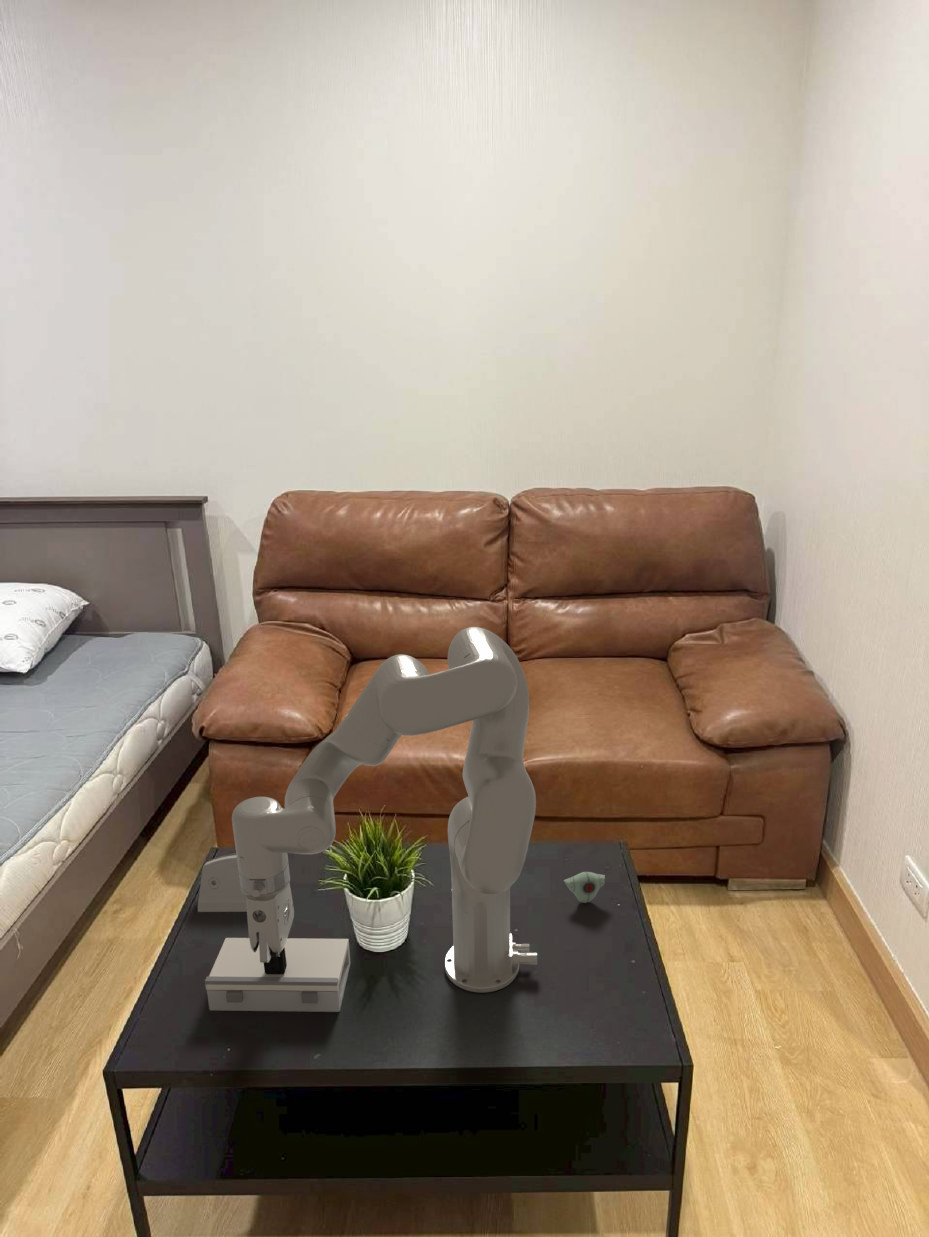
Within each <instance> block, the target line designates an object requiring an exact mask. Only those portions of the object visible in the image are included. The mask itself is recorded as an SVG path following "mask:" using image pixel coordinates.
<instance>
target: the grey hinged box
mask: <svg viewBox="0 0 929 1237" xmlns="http://www.w3.org/2000/svg"><path fill="white" fill-rule="evenodd" d="M350 953H351V952H350V945H349V946H348V950H347V954H346V958H345V962H344V967H343V971H342V975H341V979H340V983H339V988H338V991H284V990H206V995H207V1001H208V1009H209V1011H229V1012H230V1011H234V1012H236V1011H237V1012H242V1011H243V1012H248V1011H250V1012H306V1013H307V1012H320V1013H321V1012H322V1013H323V1012H324V1013H339V1012H341V1007H342V1003H343V998H344V994H345V990H346V985H347V981H348V976H349V971H350V967H351V954H350Z"/></svg>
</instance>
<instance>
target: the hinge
mask: <svg viewBox="0 0 929 1237" xmlns="http://www.w3.org/2000/svg"><path fill="white" fill-rule="evenodd" d="M198 894H199V896H198V899H197V913H214V912H215V913H223V912H224V913H225V912H226V913H231V912H233V913H238V912H239V913H240V912H241V913H242V912H243V913H245V912H246V913H247V897H246V895H245V894H244V893H243V892H242V890H241V886H240V878H239V870H238V863H237V855H236V852H235V853H229V854H225V855H221V856H217V857H214V858H212V859H209V860H208V861H207V862H205V863H204V865H203V867H202V870H201V877H200V885H199V893H198Z"/></svg>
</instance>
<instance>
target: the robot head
mask: <svg viewBox="0 0 929 1237" xmlns="http://www.w3.org/2000/svg"><path fill="white" fill-rule="evenodd" d="M605 876H606V875H605V874H600V873H595V872H592V871H582V872H579V873H577V874H576V875H572V876H571V877H568V878H566V879H563V882H564V884H565V885H566V886H567V888H568V889H569V891H570V892H571V893H573V894H574V896H575V898H576V899H577V900H578V901H579V902H580V903H584V904H587V903H590V902H593V901H592V900H594V898H595V897H596V896H597V894H598V892H599V890H600V888H602V887H603V886H604V885H605V884H606V877H605Z"/></svg>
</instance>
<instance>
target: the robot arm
mask: <svg viewBox="0 0 929 1237" xmlns="http://www.w3.org/2000/svg"><path fill="white" fill-rule="evenodd" d="M447 650H448V651H447V665H448V666H447V667H448V668H447V669H446V670H442V671H438V672H435V673H431V674H430V672H429V670H427V667H426V666H425V665H424V664H423V662H421V661H420V660H419V659H417V658H415V657H413V656H410V655H408V654H401V653H400V654H395V655H393V656H390V657H388V658H387V659H385V660H384V661H382V663H381V664H380V665H379V666H378V667H377V669H376V670H375V672H374V673H373V675H372V676H371V678H370V679H369V681H368V682H367V684H366V685H365V687H364V688H363V690H362V691H361V693H359V695H358V697H357V698H356V700H355V701H354V703H353V704H352V706H351V707H350V709H349V711H348V712H347V713H346V715H345V716H344V718H343V720H342V721H341V722H340V724H339V725H338V726H337V728H336V729H335V730H334V732H332V733H330V734H329V735H327V736H326V738H324V739H323V740H322V741H320V742H319V743H318V744H317V745H316V746H315V747H314V748H313V749H312V750H311V751H310V753H309V754H308V756H307V757H306V758H305V760H304V761H303V763H302V764H301V765H300V767H299V769H298V771H297V772H296V773H295V775H294V776H293V778H292V780H291V781H290V783H289V785H288V787H287V789H286V793H285V795H284V807H282V806H281V804H280V803H279V801H277V800H276V799H274V798H272V797H268V796H255V797H251V798H246V799H245V800H243V801H241V802H240V803H238V804H237V805H236V806H235V808H234V809H233V812H232V815H231V825H232V832H233V838H234V839H233V840H234V846H235V853H236V855H237V863H238V870H239V878H240V886H241V890H242V892H243V893H244V894H245V895H246V897H247V912H246V915H247V916H246V919H247V928H248V931H247V932H248V938H249V940H250V945H251V949H252V951H253V952H256V951H257V948H258V946H259V951H260V963H264V970H265V974H284V973H285V969H286V967H287V963H286V955H285V947H284V946H285V943H286V941H287V938H288V937H289V934H290V931H291V927H292V925H293V922H294V918H295V909H294V907H295V906H294V901H293V895H292V890H291V884H290V882H291V874H290V866H289V855H288V854H296V855H297V854H298V855H317V854H320V853H322V852H324V851H326V850H328V849H329V848H330V847H331V846H332V844H333V843H334V841H335V838H336V833H337V832H336V826H337V825H336V817H335V808H334V799H335V796H337V794H338V792H339V791H340V790H341V787H342V786H343V785H344V783H345V782H346V780H347V779H348V778H349V777H350V775H351V774H352V773H353V772H354V771H355V770H356V769H357V768H358V767H359V766H362V765H364V766H370V767H371V766H372V767H376V766H379V765H380V764H383V762H385V760H386V759H387V757H388V756H389V754H390V753H391V752H392V750H393V749H394V747H395V745H396V744H397V742H398V741H399V740H400V738H401V737H402V736H405V737H406V736H409V737H410V736H411V737H413V736H421V735H425V734H430V733H433V732H437V731H440V730H444V729H447V728H450V727H454V726H458V725H461V724H464V723H468V722H470V721H471V726H470V732H469V736H468V737H469V738H468V743H467V747H466V753H465V758H464V762H463V768H462V780H463V783H464V787H465V790H466V793H467V795H468V796H466V797H464V798H463V799H461V800H460V801H459V802H457V803H456V804H455V805H454V807H453V809H452V810H451V813H450V814H449V818H448V822H447V840H448V842H447V843H448V850H449V860H450V873H451V906H452V907H451V909H452V910H451V911H452V912H451V913H452V914H451V915H452V939H453V941H452V942H453V945H452V946H451V948H450V949H448V951H447V952H446V955H445V958H444V969H445V970H444V971H445V974H446V976H447V978H448V979H449V980H450V982H452V983H453V984H454V985H455V986H457V987H459V988H460V989H462V990H465V991H467V992H473V993H480V994H481V993H492V992H496V991H498V990H501V989H504V988H506V987H508V986H509V985H510V984H511V983H513V981H514V980H515V979H516V977H517V976H518V974H519V971H520V965H522V964H523V965H525V964H526V965H538V952H534V951H530V950H531V949H530V943H521V944H520V943H516V942H513V935H512V933H511V887H512V886H513V885H514V883H515V882H516V881H517V880H518V879H519V877H520V875H521V874H522V870H523V869H524V865H525V862H526V858H527V854H528V849H529V844H530V840H531V836H532V830H533V825H534V821H535V816H536V810H537V809H536V808H537V806H536V805H537V799H536V791H535V787H534V785H533V782H532V779H531V778H530V775H529V774H528V772H527V770H526V766H525V763H524V750H525V742H526V737H527V729H528V725H529V724H528V723H529V715H530V714H529V713H530V693H529V692H530V691H529V686H528V682H527V677H526V675H525V673H524V670H523V667H522V665H521V663H520V661H519V659H518V657H517V655H516V653H515V652H514V651H513V649H512V648H511V647H510V646H509V645H508V644H507V643H506V642H505V640H503V638H501V637H500V636H498V635H497V634H496V633H494V632H492V631H491V630H488V629H487V628H483V627H479V626H470V627H466V628H463V629H461V630H459V631H458V632H457V633H456V634H455V636H454V637H453V638H452V640H451V642H450V644H449V647H448V649H447Z"/></svg>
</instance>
